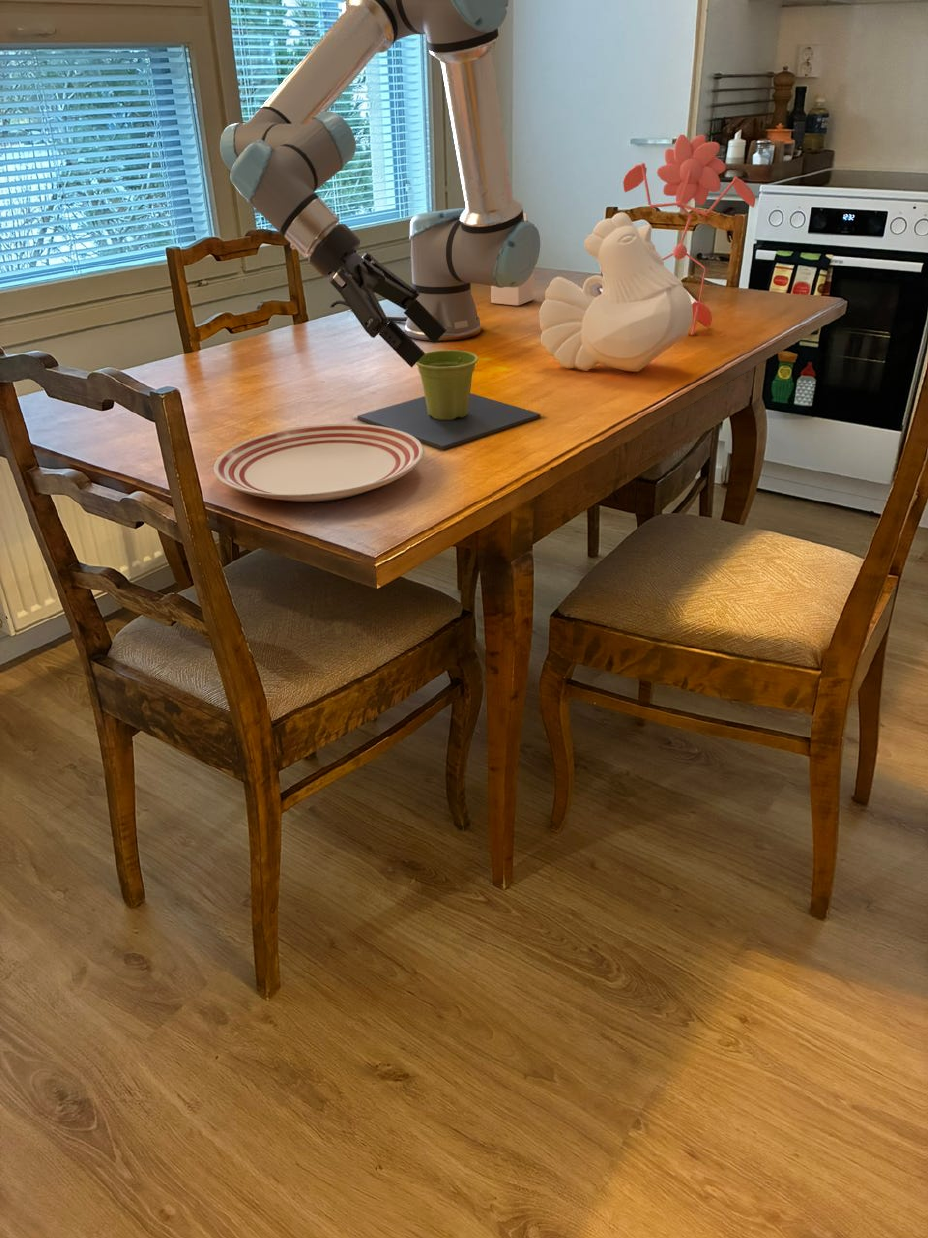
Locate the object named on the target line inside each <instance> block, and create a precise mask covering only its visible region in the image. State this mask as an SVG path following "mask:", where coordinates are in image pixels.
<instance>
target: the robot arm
mask: <svg viewBox="0 0 928 1238" xmlns="http://www.w3.org/2000/svg"><path fill="white" fill-rule="evenodd" d="M509 2H510V1H509V0H344V2H343V5H342V14H340V16H339V17H338V19H336V21H335V22H334V23H333V24H332V25H331V26H330V27H329V29H328V30H327V31H326V32H325V34H324V35H323V36H322V37H321V38H320V39H319V40H318V41H317V42H316V43H315V45H314V46H313V47H312V48H311V49H310V50H309V52H308V53H307V54H306V55H305V56H304V58H303V59H301V61H300V62H299V63H298V64H297V65H296V66H295V67H294V69H293V70H292V71H291V72H290V73H289V74H288V76H287V77H286V78H285V79H284V80H283V81H282V83H281V84H280V85H279V86H278V87H277V88H276V89H275V90H274V92H273V93H272V94H271V95H270V96H269V97H268V99H267V100H266V101H265V102H264V103H263V104H262V105H261V107H260V108H259V109H258V110H257V111H256V112H255V113H254V115H253V116H251V118H249V120H248V121H246V122H245V121H238V122H235V123H234V122H233V123H231V124H230V125H228V126H226V127H225V129H224V130H223V132H222V133H221V137H220V140H219V151H220V156H221V158H222V161H223V163H224V165H225V166H226V168H227V169H228V170H229V171H230V174H229V180H230V181H231V184H232V185H233V186H234V187H235V189H236V190H237V192H239V194H240V195H241V196H242V197H243V198H244V199H245V200H246V202H247V203H248V204H249V205H251V206H252V207H253V208H254V209H255V210H256V211H257V212H258V213H259V214H260V215H261V216H262V217H263V218H264V219H265V220H266V221H267V222H268V223H269V224H270V225H271V226H272V227H273V228H274V229H275V230H276V231H277V232H278V233H279V234H280V235H282V237H284V239H285V240H286V241H288V243H290V245H289V248H291V250H296V251H297V252H298V253H299V254H300V255H301V256H302V257H304V258H308V257H309V258H308V261H309V264H310V266H312V268H314V269H315V271H317V273H319V274H320V276H322V277H323V278H324V279H327V280H328V279H329V283H330V284H331V285H332V287H334V289H335V290H336V291H337V292H338V293H339V294H340V296H341V297H342V299H343V300H342V299H337V300H334V301H332V302H331V304H330V305H329V308H334V307H336V306H337V305H344V306H345V307H348V308H349V309H350V310H351V312H352V313H353V315H354V316H355V318H356V320H357V321H358V322H359V324H360V325H361V326H362V328H363V330H364V331H365V332H366V334H368V335H369V336H370V337H371V338H372V339H375V338H376V337H377V336H379V337H380V338H381V339H382V340H383V341H384V342H385V343H386V344H387V345H388V346H389V347H390V348H391V349H392V350H393V351H394V352H395V353H396V355H398V356H399V357H400V358H401V359H402V360H403V361H404V362H405V363H406V364H407V365H408V366H409V368H411V369H412V368H413V367H414V366H415V365H416V362H417V361H418V360H419V359H420V358H421V357H422V356H423V355H424V354H425V353H426V352H424V351H423V349H422V348H421V347H419V345H418V344H417V343H416V342H415V341H413V339H416V340H421V341H429V342H432V343H433V344H435V343H436V342H448V341H449V342H450V341H457V340H464V339H469V338H472V337H475V336H477V335H479V334H480V333H481V331H482V330H481V320H480V319H481V318H480V317H479V315H478V311H477V308H476V305H475V301H474V298H473V295H472V285H471V284H476V285H483V286H490V287H491V286H496V287H498V288H503V287H512V288H513V287H518V286H521V285H522V284H524V283H525V282H526V281H527V280H528V279H529V278H530V276H531V275H532V273H533V271H535V269H536V266H537V264H538V261H539V258H540V252H541V235H540V232H539V229H538V227H536V226H535V224H534V223H532V222H531V221H529V220H528V221H529V222H528V221H524V216H523V213H524V210H523V205H522V204H521V202H519V201H518V200H517V199H515V198H514V197H513V192H512V185H511V177H510V171H509V164H508V156H507V149H506V141H505V137H504V136H505V135H504V130H503V122H502V114H501V107H500V101H499V95H498V94H499V93H498V88H497V79H496V72H495V65H494V60H493V52H492V51H493V48H494V46H495V45H496V43H497V42H498V40H499V38H500V35H499V28H500V27H501V26H502V24H503V23H504V21H505V18H506V17H507V14H508V12H507V7H508V6H509ZM413 35H425V36H426V41H427V46H428V51H429V53H430V54H431V55H432V56H433V57H434V58H436V59H437V60H438V61H439V62H440V66H441V67H440V68H441V72H442V73H441V74H442V78H443V83H444V89H445V95H446V102H447V106H448V113H449V118H450V124H451V129H452V135H453V136H452V137H453V141H454V146H455V152H456V158H457V163H458V169H459V175H460V181H461V186H462V192H463V199H464V202H465V207H458V208H451V209H450V208H448V209H442V210H441V209H440V210H436V211H435V210H434V211H429V212H423V213H418V214H415V215H413V216H412V218H411V219H410V222H409V237H408V239H409V251H410V252H409V253H410V264H411V265H410V268H411V269H410V270H411V283H412V286H411V285H409V284H408V283H407V282H405V281H404V280H403V279H401V277H399V276H398V275H396V274H395V273H393V272H392V271H391V270H389V269H388V268H387V267H385V266H384V265H383V264H382V263H380V262H379V261H378V260H377V259H376V258H375V257H374V256H372V254H371V253H369V252H368V251H367V252H365V253H364V255H362V256H361V255H359V254H358V253H357V250H358V248H359V247H360V245H361V240H360V238H359V237H358V235H357V234H356V233H354V232H353V231H352V229H350V227H349V226H348V225H347V224H346V223H339V222H340V217H339V216H338V214H336V212H334V211H333V209H331V208H330V206H329V205H328V204H327V203H326V202H325V201H324V200H322V198H320V197H319V195H317V193H316V191H317V190H318V189H320V187H322V186H323V185H324V184H325V183H327V182H328V181H329V180H330V179H331V178H333V177H334V176H335V175H336V174H338V173H340V172H341V171H342V170H344V167H345V166H346V165H347V164H348V163H349V162H350V161H351V160H352V159H353V157H354V156H355V153H356V151H357V150H356V149H357V143H356V138H355V135H354V133H353V130H352V128H351V126H350V125H349V123H348V122H347V121H346V120H345V119H344V118H343V117H342V116H341V115H339V114H338V113H336V112H333V111H329V110H330V108H331V107H332V106H333V105H334V104H335V102H337V101H338V99H339V98H340V97H341V96H342V94H343V93H344V92H345V91H346V90H347V89H348V87H349V86H350V85H351V84H352V82H353V81H354V80H355V79H356V78H357V77H358V75H360V74H361V72H362V71H363V70H364V69H365V67H366V66H367V65H368V64H369V62H370V61H371V60H372V59H373V58H374V57H375V55H376V54H382V53H385V52H387V51H389V49H390V48H391V47H392V46H393V45H394V44H395V43H396V42H397V41H400V40H402V39H404V38H406V37H409V36H413ZM376 294H377V295H379V296H380V297H382V298H384V299H385V300H387V301H388V302H391V303H393V304H394V305H396V306H398V307H399V308H401V309H403V310H404V312H403V314H404V315H405V316H401V317H400V316H387V315H386V313H385V312H384V310H383V309H384V308H383V307H382V306H381V304H380V302H379V300H378V298H377V295H376ZM396 322H405V326H404V328H405V330H403V329H402V328H401V327H400V326H399V325H398V324H397V323H396ZM411 338H412V339H411Z"/></svg>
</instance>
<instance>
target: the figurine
mask: <svg viewBox="0 0 928 1238" xmlns="http://www.w3.org/2000/svg"><path fill="white" fill-rule="evenodd" d="M720 148H721V146H720V143H719V142H717V141H708V142H707V137H706V135H704V134H698V135H697V136H695V137H694V138H692V140H691V141H689V139H688V137H687V136H686V135H685V134H680V135H678V137H677V138H676V140H675V142H674V147H673V148H666V150H665V152H664V161H665V163H666V164H665V165H662V166H660V167H658V168H657V171H656V174H657V176H658V177H659V178H660V180H661V181H663V182H664V183H665V184H664V186H663V190H662V192H663V194H664V195H665V196H668V197H669V196H670V197H675V202H670V203H669V202H668V203H657V204H656V203H655V204H652V200H651V196H650V190H649V185H648V179H647V167H646V164H645V162H641V163H640V164H636V165H634V166H633V167H632V168H631V169H629V170H628V171H627V172H626V174H625V175H624V178H623V180H622V185H623V191H624V193H627V192H630V191H632V190H634V189H636V188H637V187H639V186H640V185H641V184H642V183H643V184H644V189H645V195H646V200H647V205H648V206H649V207H648V208H649V209H654V208H663V207H665V208H666V207H674V206H675V207H677V208H680V209H681V210H682V212H684V213H685V215H686V216H687V217H688V218H687V221H686V224H685V228H684V232H683V234H682V237H681V240H680V243H679V244H677V245H675V246H674V247H673V250H672V253H670V254H669V255H667V256H665V257H663V258H662V260H663V261H666V260H667V259H669V258H671V257H674V258H675V259H677V260H682V259H684V258H685V257H686V256H687V258H690V259H691V260H692V261H693V262H695V263H696V265H698V266H700V267H701V268H703V275H702V278H701V283H700V284H701V285H700V291H699V296H698V300H696V301H697V302H696V301H695V302H694V303H693V304H692V308H693V318H692V319H693V321H692V326H691V327H692V328H691V333H690V336H694V335H695V332H696V325H697V322H698V323H699V324H701V325H703V326H704V327H706V328H708V329H710V327H711V324H712V321H713V315H712V311H711V310H710V309H709V307H708V306H707V305H706V304H705V303H704V302H701V300H702V295H703V289H704V283H705V278H706V272H707V269H706V266H705V265H703V264H702V263H700V261H698V260H697V259H695V258H694V257H693V256H692V255H690V254H689V253H688V249H687V246H685V245H684V244H683V243H684V240H685V237H686V235H687V233H688V230H689V227H690V224H691V222H692V219H693V218H692V214H691V213H690V212H689V211H688V210H690V211H693V212H695V213H697V214H700V215H702V216H704V217H708V215H709V214H710V213H711V212H712V211H713V210H714V208H715V207H716V206H717V205H718V204H719V202H720V201H721V200H722V199H723V198H724V196H725V195H726V194H727V193H728V192H729V191H730V189H731V188H732V187H733V189H734V190H735V192H736V194H737V195H738V196H739V198H740V199H741V200H742V201H744V202H745V203H746V204H747V205H748V206H750V207H751V208H754V207H755V205H756V197H755V195H754V192H753V190H752V189H751V187H749V186H748V185H747V184H746V183H745V181H744V180H742V179H740V178H739V177H738V176H734V177H733V178H732V181H731V182H730V183H729V184H728V186H727V187H726V188H725V189H724V190H723V191H722V193H721V194H720V195H719V197H718V198H716V200H715V201H714V202H713V204H712V205H711V206H710V208H708V210H707V211H704V210H701V209H698V208H696V207H694V206H691V205H688V204H689V203H690V202H691V201H692V199H693V201H694V203H695V204H696V205H698V206H704V205H705V203H706V201H707V199H708V198H709V197H708V196H709V192H712V193H717V192H719V191H720V190H721V187H722V183H721V179H720V176H719V175H720V174H723V173H724V172H725V171H726V168H727V166H726V164H725V162H724V161H722V159H721V158H718V157H717V155H718V154H719V152H720ZM725 336H726V334H724V335H721V336H720V338H723V337H725Z"/></svg>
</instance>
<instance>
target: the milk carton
mask: <svg viewBox="0 0 928 1238" xmlns="http://www.w3.org/2000/svg"><path fill="white" fill-rule="evenodd" d="M523 216H524V221H528V222H530V221H529V220H528V213H527V212H523ZM534 271H535V270H534ZM534 271H533V273H532V275H531V276H530V278H529V279H528V280H527V281H526V282H525V283H524V284H522V285H521V286H518V287H513V288H512V287H503V288H498V287H496V286H490V288H491V289H490V295H491V296H490V297H491V301H490V303H493V304H497V305H507V306H516V307H517V306H521V305H524V304H525V303H529V302H531V301H533V300H534V284H535V283H534V281H535V280H534V278H535V275H534V273H535V272H534Z"/></svg>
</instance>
